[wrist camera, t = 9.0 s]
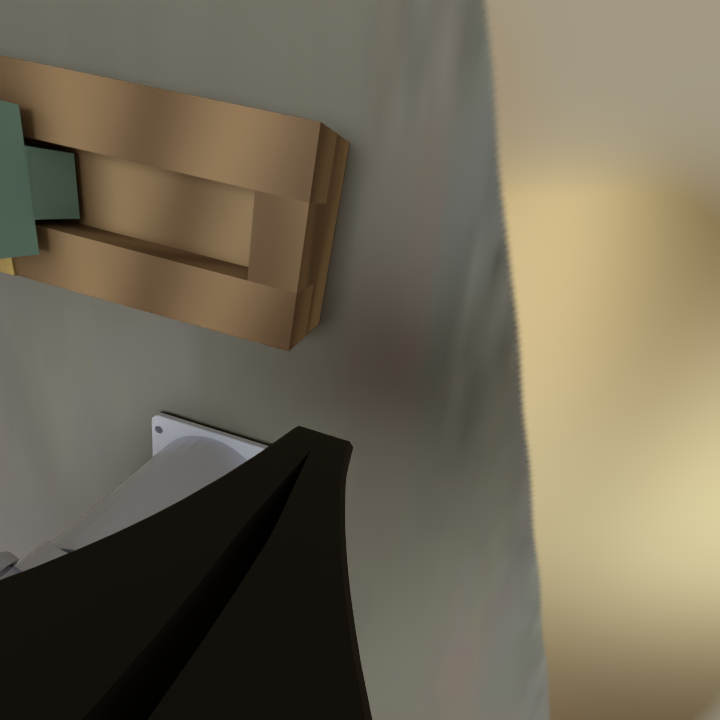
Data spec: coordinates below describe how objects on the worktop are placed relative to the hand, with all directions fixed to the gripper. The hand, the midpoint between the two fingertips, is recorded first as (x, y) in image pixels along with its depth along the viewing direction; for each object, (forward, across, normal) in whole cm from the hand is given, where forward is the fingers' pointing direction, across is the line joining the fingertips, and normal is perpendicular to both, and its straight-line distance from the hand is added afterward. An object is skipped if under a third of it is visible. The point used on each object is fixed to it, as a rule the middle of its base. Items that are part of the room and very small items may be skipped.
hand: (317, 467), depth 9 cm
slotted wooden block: (+10, +15, -4) cm, 19 cm away
